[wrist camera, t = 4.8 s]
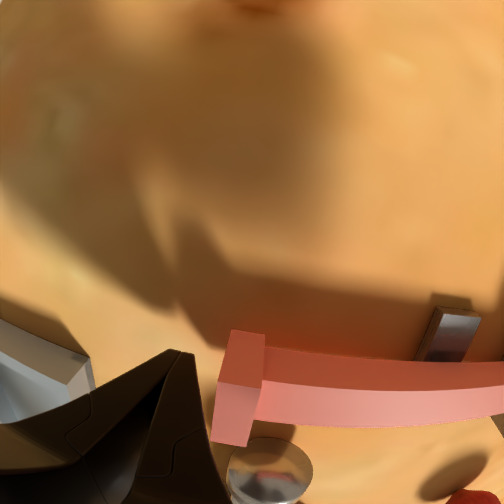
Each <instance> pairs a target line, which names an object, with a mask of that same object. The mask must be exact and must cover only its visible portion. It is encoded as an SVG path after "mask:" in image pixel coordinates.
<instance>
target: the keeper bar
mask: <svg viewBox="0 0 504 504" xmlns="http://www.w3.org/2000/svg"><path fill="white" fill-rule="evenodd" d="M502 413H504V361H499V362H419V361H398V360H382V359H368V358H357V357H346V356H336V355H327V354H319V353H310V352H303V351H295V350H288V349H281V348H275V347H268V346H265V335H264V334H258V333H252V332H246V331H241V330H235V329H231V333H230V337H229V340H228V344H227V348H226V352H225V355H224V359H223V363H222V367H221V370H220V374H219V378H218V382H217V390H216V397H215V405H214V413H213V421H212V430H211V438H210V441H213V442H218V443H223V444H229V445H235V446H241V447H246V446H247V442H248V438H249V435H250V431H251V427H252V424H253V420H261V421H269V422H277V423H286V424H296V425H308V426H323V427H347V428H383V427H407V426H421V425H432V424H441V423H450V422H457V421H464V420H470V419H476V418H482V417H487V416H492V415H497V414H502Z"/></svg>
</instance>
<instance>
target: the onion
mask: <svg viewBox="0 0 504 504" xmlns="http://www.w3.org/2000/svg"><path fill="white" fill-rule="evenodd" d="M446 504H501V503H500V501H499V499H498V498H497V496H496V495H494V494H492V493H491V492H487V491H473V490H466V489H460V490H458V491H456V492H454V493H453V494H452V496H451V497H450V499H449V500H448V501H447V503H446Z"/></svg>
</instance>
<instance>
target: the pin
mask: <svg viewBox="0 0 504 504" xmlns="http://www.w3.org/2000/svg"><path fill="white" fill-rule="evenodd" d="M312 477H313V467H312V464H311V461H310V459H309V458H308V456H307V455H306V454H305V453H304V451H302V450H301V449H300V448H299V447H297V446H296V445H294V444H292V443H290V442H288V441H285V440H282V439H278V438H269V437H263V438H256V439H252V440H249V441H248V442H247V446H246V447H241V446H238V447H237V448H236V449H235V450H234V452H233V453H232V455H231V457H230V460H229V465H228V469H227V474H226V484H227V488H228V490H229V492H230V494H231V501H232V502H233V504H295V503H296V502H297V501H298V500H299V499H300V498H301V496H302V495H303V493H304V492H305V491H306V489H307V488H308V486H309V484H310V483H311V480H312Z"/></svg>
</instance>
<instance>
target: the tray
mask: <svg viewBox="0 0 504 504" xmlns="http://www.w3.org/2000/svg"><path fill="white" fill-rule="evenodd" d="M94 389H96V388H95V383H94V378H93V373H92V367H91V362H90V358H89V357H86V356H83V355H81V354H78V353H76V352H73V351H70V350H68V349H65V348H63V347H60V346H58V345H56V344H53V343H51V342H48V341H46V340H44V339H42V338H39V337H37V336H35V335H33V334H31V333H28V332H26V331H24V330H22V329H20V328H18V327H16V326H14V325H12V324H10V323H8V322H6V321H4V320H2V319H0V423H1V424H3V423H12V422H16V421H19V420H22V419H25V418H28V417H31V416H34V415H37V414H40V413H43V412H45V411H48V410H51V409H54V408H56V407H59V406H61V405H64V404H66V403H68V402H70V401H72V400H74V399H76V398H79V397H80V396H82V395H84V394H86V393H89V392H90V391H92V390H94Z"/></svg>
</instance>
